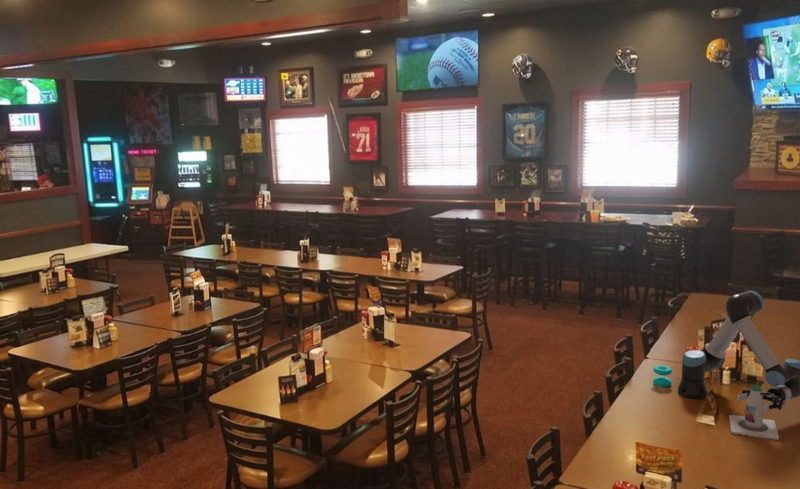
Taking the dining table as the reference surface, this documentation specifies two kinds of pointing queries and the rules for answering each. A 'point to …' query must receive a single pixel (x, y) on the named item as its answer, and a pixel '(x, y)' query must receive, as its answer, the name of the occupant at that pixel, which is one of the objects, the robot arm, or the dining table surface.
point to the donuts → (663, 371)
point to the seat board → (765, 431)
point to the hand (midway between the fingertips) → (750, 403)
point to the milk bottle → (754, 408)
